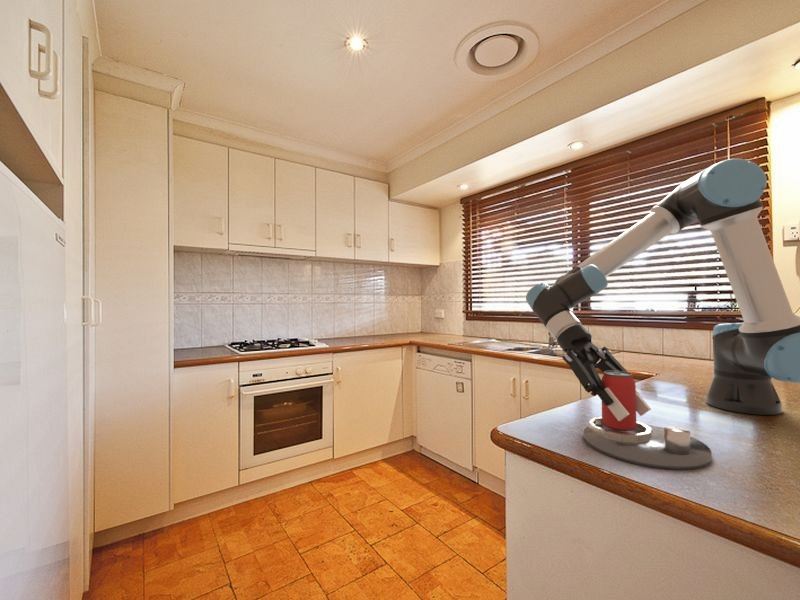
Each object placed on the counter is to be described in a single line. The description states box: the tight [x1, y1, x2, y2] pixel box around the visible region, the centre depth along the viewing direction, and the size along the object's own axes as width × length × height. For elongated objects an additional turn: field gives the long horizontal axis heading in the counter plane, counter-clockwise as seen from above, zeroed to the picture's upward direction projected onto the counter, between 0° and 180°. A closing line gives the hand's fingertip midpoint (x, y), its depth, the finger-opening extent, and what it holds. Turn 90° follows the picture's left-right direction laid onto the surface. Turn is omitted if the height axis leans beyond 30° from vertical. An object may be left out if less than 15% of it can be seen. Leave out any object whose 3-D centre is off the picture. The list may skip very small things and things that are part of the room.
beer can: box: [601, 371, 637, 431], centre depth 81 cm, size 7×7×12 cm
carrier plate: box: [583, 416, 713, 471], centre depth 76 cm, size 22×22×5 cm
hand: (635, 414), depth 77 cm, fingers closed on beer can, 6 cm apart
